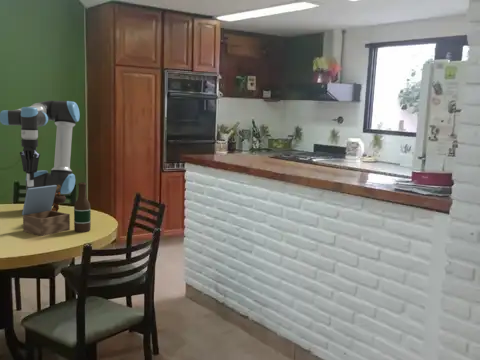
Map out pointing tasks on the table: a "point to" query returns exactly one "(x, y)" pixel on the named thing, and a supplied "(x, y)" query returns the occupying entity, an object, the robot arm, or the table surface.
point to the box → (46, 222)
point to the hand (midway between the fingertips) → (30, 186)
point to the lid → (39, 199)
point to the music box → (58, 199)
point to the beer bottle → (82, 211)
